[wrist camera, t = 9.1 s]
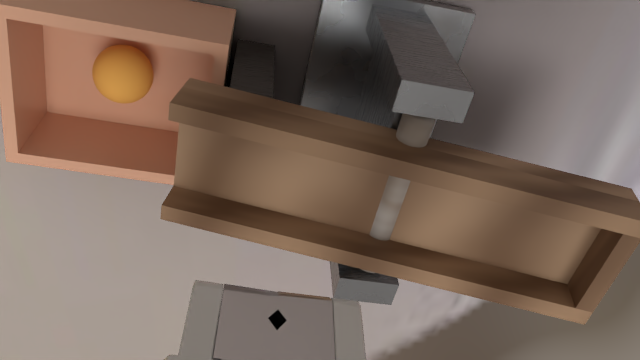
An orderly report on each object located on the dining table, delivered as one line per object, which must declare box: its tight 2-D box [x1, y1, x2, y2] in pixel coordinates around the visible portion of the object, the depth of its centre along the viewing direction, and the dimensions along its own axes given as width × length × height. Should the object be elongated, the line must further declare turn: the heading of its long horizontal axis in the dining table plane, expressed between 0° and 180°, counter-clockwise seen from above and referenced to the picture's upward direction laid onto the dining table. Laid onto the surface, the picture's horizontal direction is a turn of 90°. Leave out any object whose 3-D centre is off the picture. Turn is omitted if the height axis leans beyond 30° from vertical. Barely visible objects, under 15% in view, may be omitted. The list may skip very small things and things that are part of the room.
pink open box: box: [0, 0, 236, 185], centre depth 30 cm, size 10×8×5 cm
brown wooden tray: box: [161, 78, 640, 324], centre depth 26 cm, size 20×9×3 cm, turn 78°
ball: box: [92, 45, 154, 103], centre depth 30 cm, size 3×3×3 cm
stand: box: [230, 0, 476, 305], centre depth 30 cm, size 12×13×10 cm
